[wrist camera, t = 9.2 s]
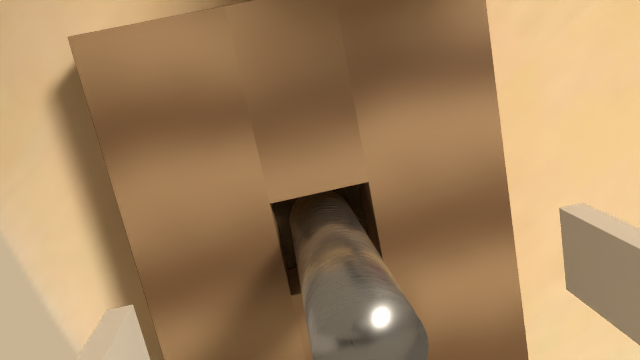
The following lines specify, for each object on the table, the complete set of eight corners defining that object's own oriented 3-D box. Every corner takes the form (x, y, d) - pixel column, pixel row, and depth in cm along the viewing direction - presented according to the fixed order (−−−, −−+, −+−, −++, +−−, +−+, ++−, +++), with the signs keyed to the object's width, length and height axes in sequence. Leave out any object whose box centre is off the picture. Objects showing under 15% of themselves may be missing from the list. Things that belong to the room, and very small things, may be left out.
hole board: (93, 41, 22) (67, 36, 19) (452, -30, 23) (480, -44, 20) (207, 436, 27) (200, 481, 24) (504, 362, 28) (533, 397, 25)
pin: (283, 196, 24) (301, 314, 13) (345, 182, 25) (418, 285, 13) (297, 255, 25) (326, 417, 13) (357, 240, 25) (437, 388, 14)
